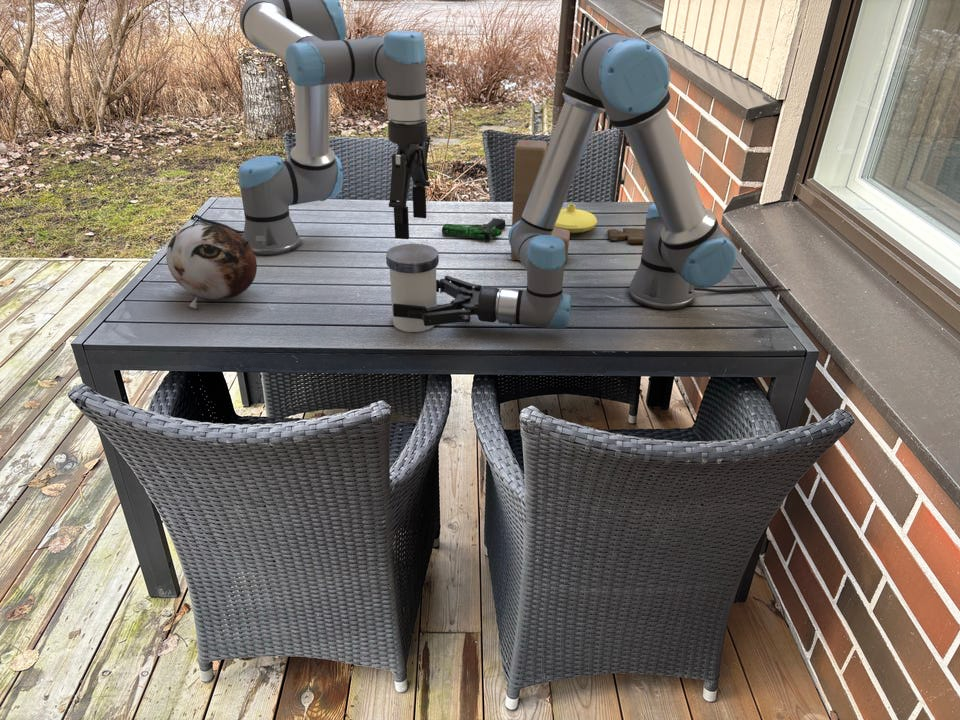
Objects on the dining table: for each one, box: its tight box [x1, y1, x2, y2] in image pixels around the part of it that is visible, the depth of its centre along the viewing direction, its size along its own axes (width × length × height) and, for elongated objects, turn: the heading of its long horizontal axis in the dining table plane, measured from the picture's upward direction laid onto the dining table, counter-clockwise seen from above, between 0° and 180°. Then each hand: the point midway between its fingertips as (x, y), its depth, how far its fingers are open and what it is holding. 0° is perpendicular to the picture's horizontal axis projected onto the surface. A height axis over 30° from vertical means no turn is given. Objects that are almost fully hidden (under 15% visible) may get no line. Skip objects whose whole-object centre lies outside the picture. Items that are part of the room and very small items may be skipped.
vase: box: [554, 203, 598, 234], centre depth 209 cm, size 16×16×7 cm
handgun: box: [441, 217, 506, 242], centre depth 207 cm, size 16×3×15 cm
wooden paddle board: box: [606, 227, 645, 244], centre depth 205 cm, size 26×2×10 cm
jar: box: [389, 267, 438, 333], centre depth 155 cm, size 10×10×16 cm
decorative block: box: [510, 139, 571, 264], centre depth 184 cm, size 8×15×30 cm, turn 82°
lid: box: [385, 243, 440, 273], centre depth 152 cm, size 11×11×2 cm
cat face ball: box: [165, 222, 258, 309], centre depth 165 cm, size 22×18×20 cm
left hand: (411, 227), depth 148 cm, fingers open, 12 cm apart
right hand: (402, 296), depth 157 cm, fingers open, 13 cm apart
